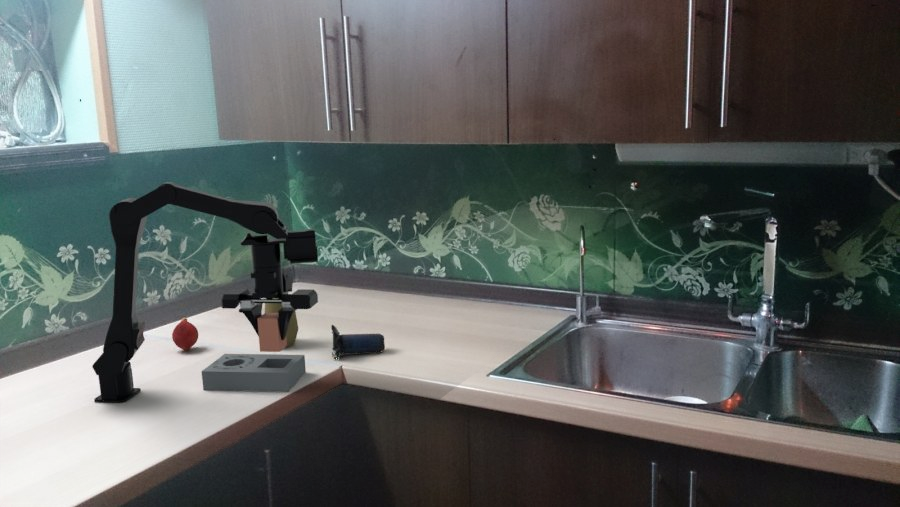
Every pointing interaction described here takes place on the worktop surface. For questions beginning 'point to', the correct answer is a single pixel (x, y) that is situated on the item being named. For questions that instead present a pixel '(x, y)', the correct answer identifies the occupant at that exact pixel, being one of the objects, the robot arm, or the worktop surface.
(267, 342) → the square peg
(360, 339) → the flanged blue cylinder
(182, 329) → the onion
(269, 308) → the squeeze bottle
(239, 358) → the socket block
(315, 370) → the worktop surface
